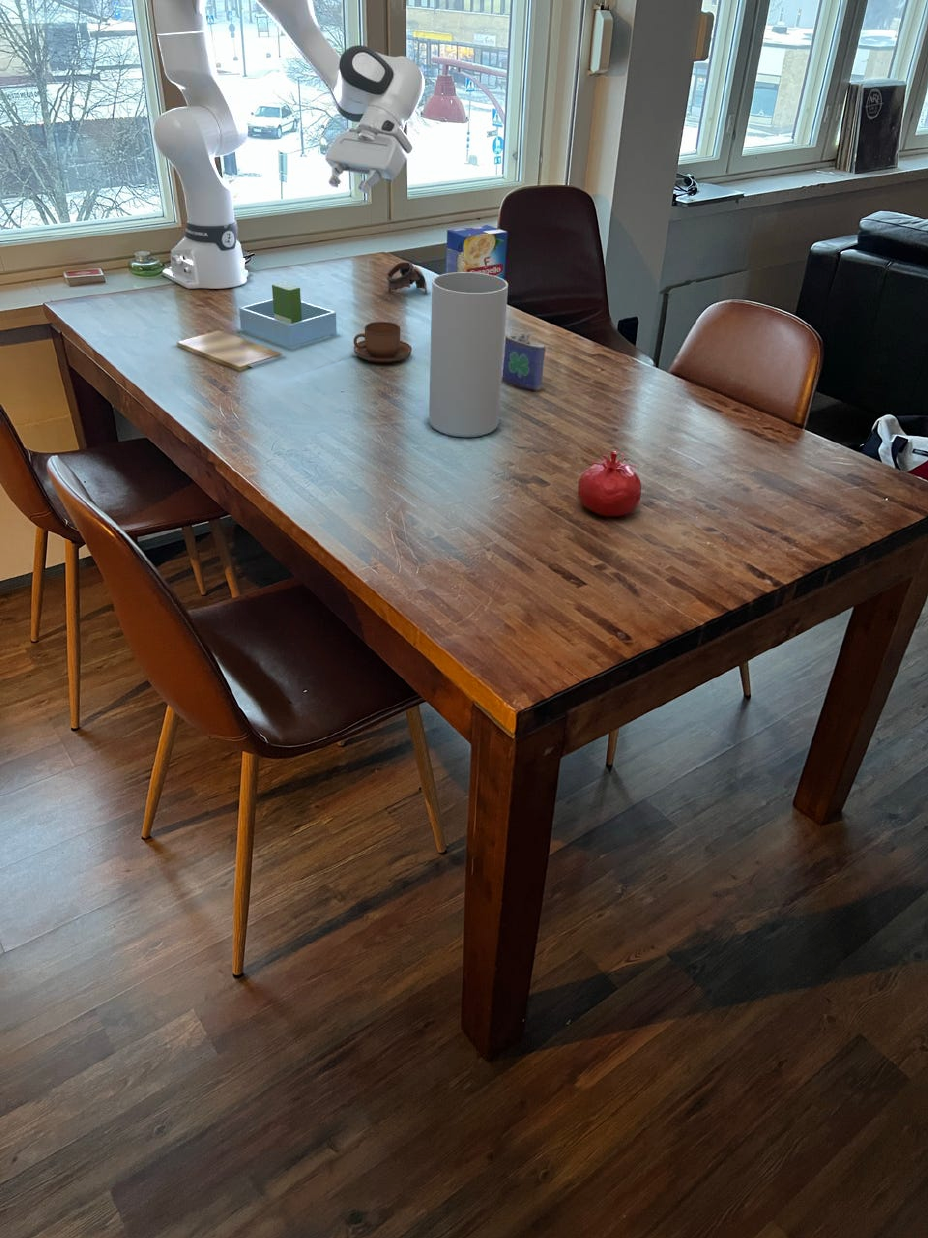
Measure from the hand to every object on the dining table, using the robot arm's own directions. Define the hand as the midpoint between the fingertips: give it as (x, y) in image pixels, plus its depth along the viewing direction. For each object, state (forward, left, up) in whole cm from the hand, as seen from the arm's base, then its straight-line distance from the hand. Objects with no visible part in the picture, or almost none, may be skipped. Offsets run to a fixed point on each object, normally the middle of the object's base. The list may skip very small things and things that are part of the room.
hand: (347, 187), depth 200 cm
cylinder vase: (+58, -30, -28) cm, 71 cm away
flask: (+54, -7, -28) cm, 61 cm away
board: (0, -36, -27) cm, 45 cm away
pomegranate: (+94, -39, -28) cm, 106 cm away
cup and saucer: (+24, -15, -28) cm, 40 cm away
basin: (0, -19, -27) cm, 33 cm away
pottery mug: (-4, +24, -28) cm, 37 cm away
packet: (0, -19, -27) cm, 33 cm away
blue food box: (+28, +10, -28) cm, 41 cm away
